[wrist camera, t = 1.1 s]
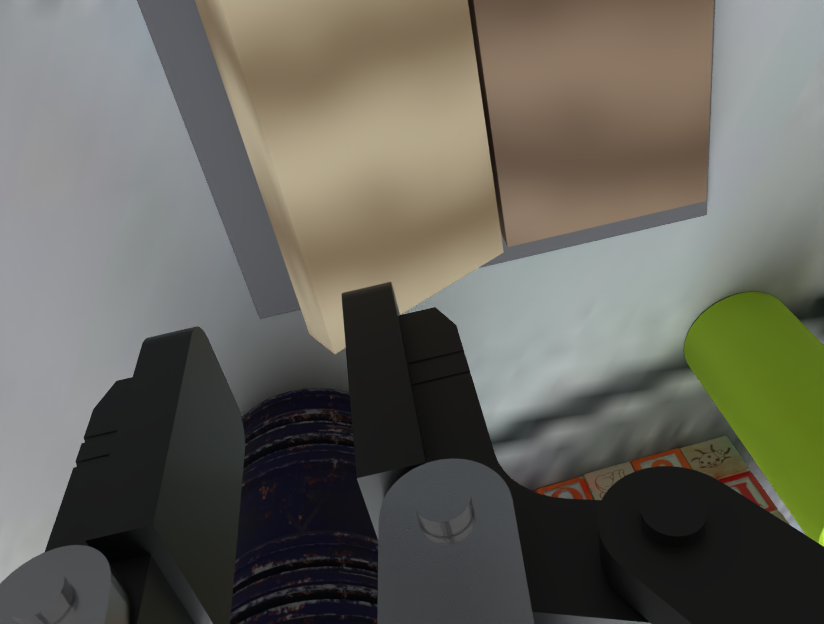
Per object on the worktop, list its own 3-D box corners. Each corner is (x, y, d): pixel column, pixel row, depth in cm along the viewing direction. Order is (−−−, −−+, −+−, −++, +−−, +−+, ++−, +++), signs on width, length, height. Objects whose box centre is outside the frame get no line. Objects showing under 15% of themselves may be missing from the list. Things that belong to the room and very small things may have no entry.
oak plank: (65, -377, 18) (88, -403, 17) (365, -410, 22) (406, -433, 20) (309, 334, 31) (334, 354, 29) (473, 238, 34) (503, 252, 33)
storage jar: (272, 533, 45) (262, 804, 33) (190, 425, 40) (141, 701, 28) (426, 480, 44) (474, 738, 32) (363, 361, 39) (392, 618, 27)
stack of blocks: (418, 584, 50) (448, 781, 40) (392, 526, 47) (418, 726, 36) (730, 497, 49) (842, 676, 39) (728, 431, 46) (851, 610, 35)
